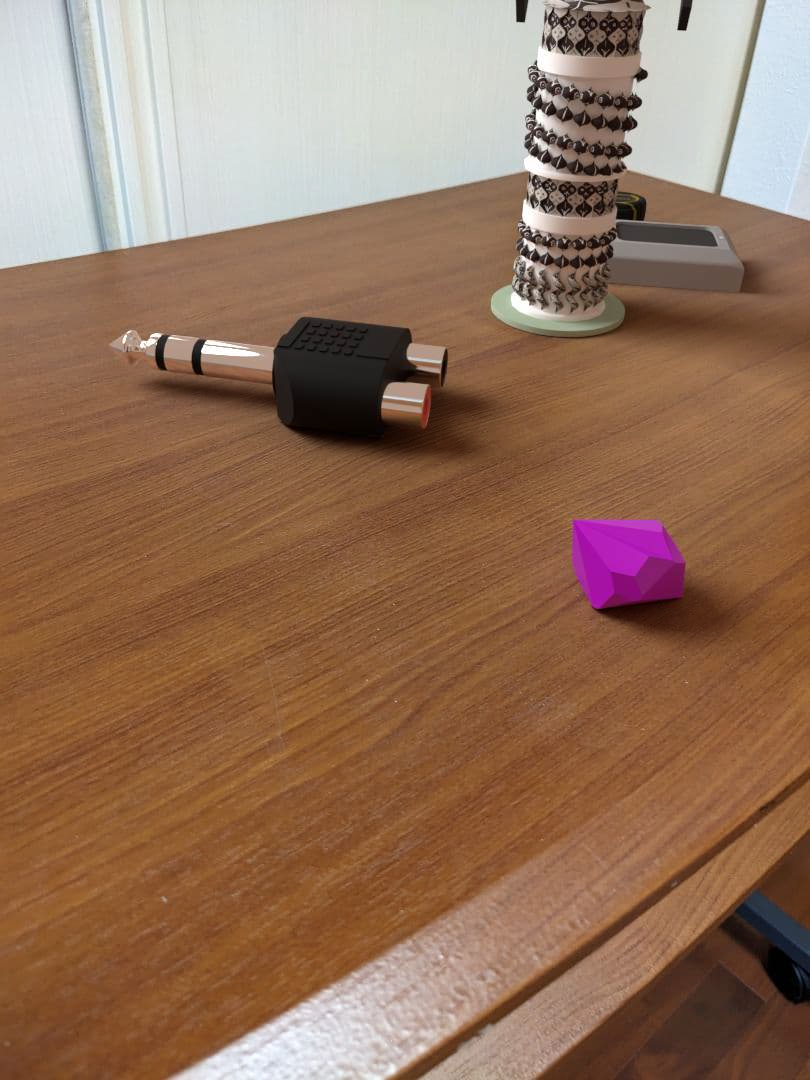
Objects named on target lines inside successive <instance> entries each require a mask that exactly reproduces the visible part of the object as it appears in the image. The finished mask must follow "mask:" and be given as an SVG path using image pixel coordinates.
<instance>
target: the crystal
mask: <svg viewBox="0 0 810 1080" xmlns="http://www.w3.org/2000/svg"><path fill="white" fill-rule="evenodd" d="M571 539H572V541H571V562H572V567H573V571H574V575H575V577H576V579H577V581H578V583H579V585H580V587H581V590H582V591H583V592H584V594H586V595H585V596H587V597H586V599H587V598H588V599H589V601H590V603H591V604H592V606H593V607H594V608H593V607H592V606H591V607H592V608H593V609H597V610H600V609H607V608H608V609H609V608H616V607H624V606H630V605H636V604H637V605H638V604H645V603H650V602H651V603H653V602H659V601H658V600H660V601H666V599H667V600H673V598H674V599H681V598H683V595H684V586H685V585H684V583H685V573H686V564H687V563H686V560H685V559H684V557H683V555H682V553H681V551H680V549H679V547H678V545H677V544H676V543H675V541H674V540H673V538H672V537H671V535H670V534H669V532H668V531H667V529H666V528H665V525H663V523H661V522H660V521H659V520H658V519H576V518H575V519H574V518H573V519H572V537H571ZM680 597H681V598H680ZM588 599H587V600H588ZM589 601H588V602H589ZM590 603H589V604H590ZM591 604H590V605H591Z"/></svg>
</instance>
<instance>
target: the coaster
mask: <svg viewBox="0 0 810 1080" xmlns="http://www.w3.org/2000/svg"><path fill="white" fill-rule="evenodd" d="M513 293H514V290H513V288H512V283H511V284H508V285H505V286H503V287H501V288H499V289H497V291H496V292H494V293H493V295H492V297H491V299H490V309H491V312H492V314H493V316H495V317H496V318H497V320H499V321H500V322H502V323H504V324H505V325H507V326H510V327H512V328H514V329H517V330H520V331H523V332H527V333H531V334H535V335H540V336H541V335H542V336H546V337H547V336H548V337H555V338H585V337H592V336H593V337H594V336H597V335H602V334H605V333H608V332H611V331H613V330H615V329H617V328H619V326H621V324H622V323H623V321H624V319H625V315H626V308H625V305H624V303H623V302H622V301H621V300H620V299H619V298H617V297H616V296H615V295H613V294H612V293H610V292H608V294H607V296H605V297H604V298H603V300H604V303H605V309H604V311H603V312H602V313H601V315H599V316H597V317H594V318H592V319H589V320H584V321H576V322H555V321H548V320H543V319H538V318H534V317H531V316H529V315H526V314H524V313H521V312H520V311H518V310H517V309H516V308H515V307H514V306H512V300H511V295H512V294H513Z"/></svg>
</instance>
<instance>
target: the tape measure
mask: <svg viewBox="0 0 810 1080" xmlns="http://www.w3.org/2000/svg"><path fill="white" fill-rule="evenodd" d="M615 205H616V207H617V214H616V219H617V220H632V221H645V218H646V213H647V199H646V198H645V197H644V196H642V195H640V194H637V193H634V192H633V193H632V192H628V191H621V190H620V191H619V190H618V193H617V197H616V200H615Z"/></svg>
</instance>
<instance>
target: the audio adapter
mask: <svg viewBox="0 0 810 1080" xmlns="http://www.w3.org/2000/svg"><path fill="white" fill-rule="evenodd" d="M107 346H108V349H109V350H110V351H111V352H113V354H115V355H116V356H117V358H119V359H120V360H121V362H122V363H125V365H126V366H128V368H129V367H130V368H134V367H135V366H137V365H138V364H139V362H140V361H141V360H145V362H146V364H147V366H148V367H149V368H150V369H152V370H154V371H161V372H164V371H165V372H170V373H177V374H184V375H192V376H204V377H208V378H209V377H210V378H215V379H224V380H230V381H239V382H247V383H254V384H255V383H256V384H263V385H271V386H272V390H273V394H274V396H275V400H276V412H277V413H276V414H277V418H278V417H279V419H280V420H281V422H282V423H281V422H280V423H281V424H283V425H285V426H294V427H301V428H308V429H316V430H324V431H331V432H338V433H345V434H353V435H359V436H367V437H374V438H383V436H384V435H385V434H386V433H387V430H388V428H389V427H390V426H391V427H398V428H406V429H412V430H420V431H424V430H425V429H426V427H427V425H428V422H429V418H430V412H431V406H432V405H431V404H432V389H436V390H442V389H443V388H444V387H445V384H446V380H447V375H448V368H449V367H448V366H449V348H448V347H447V346H443V345H442V346H441V345H432V344H423V343H416V342H413V335H412V331H411V329H410V328H409V327H402V326H392V325H385V324H384V325H383V324H376V323H366V322H357V321H348V320H341V319H330V318H323V317H313V316H302V317H300V318H299V319H297V321H296V322H295V323H294V324H293V326H291V328H290V329H289V330H288V332H286V333H284V334H282V335H281V336H280V337H279V339H278V342H277V344H276V346H275V347H274V346H266V345H257V344H251V343H250V344H249V343H241V342H233V341H225V340H217V339H205V338H200V337H193V336H184V335H183V336H182V335H174V334H172V335H170V334H166V333H158V332H155V333H153V334H150V336H149V337H148V339H147V340H143V339H142V337H141V335H140V333H139V332H138V331H137V330H134V329H131V330H129V331H127V332H125V333H124V334H122V335H121V336H119V337H117V338H116V339H114V340H112V341H110V342H109V344H108V345H107Z"/></svg>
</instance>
